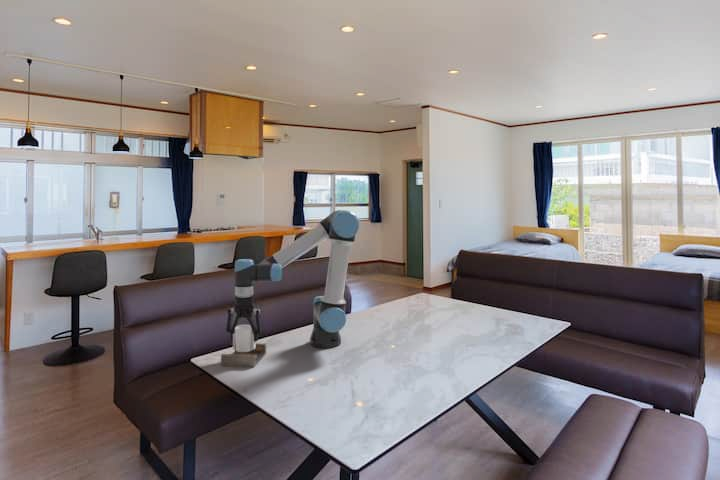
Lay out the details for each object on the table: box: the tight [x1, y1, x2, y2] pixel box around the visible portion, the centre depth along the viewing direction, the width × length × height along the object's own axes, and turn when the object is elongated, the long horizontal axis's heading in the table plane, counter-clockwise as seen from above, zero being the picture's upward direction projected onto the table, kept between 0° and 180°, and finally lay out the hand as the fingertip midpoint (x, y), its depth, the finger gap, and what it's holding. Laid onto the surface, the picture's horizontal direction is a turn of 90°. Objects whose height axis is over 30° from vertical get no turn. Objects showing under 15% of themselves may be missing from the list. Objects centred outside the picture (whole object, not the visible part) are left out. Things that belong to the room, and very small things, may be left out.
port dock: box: [220, 342, 267, 368], centre depth 175 cm, size 14×16×4 cm
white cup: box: [235, 324, 253, 352], centre depth 174 cm, size 8×8×10 cm
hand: (244, 348), depth 175 cm, fingers closed on white cup, 8 cm apart
